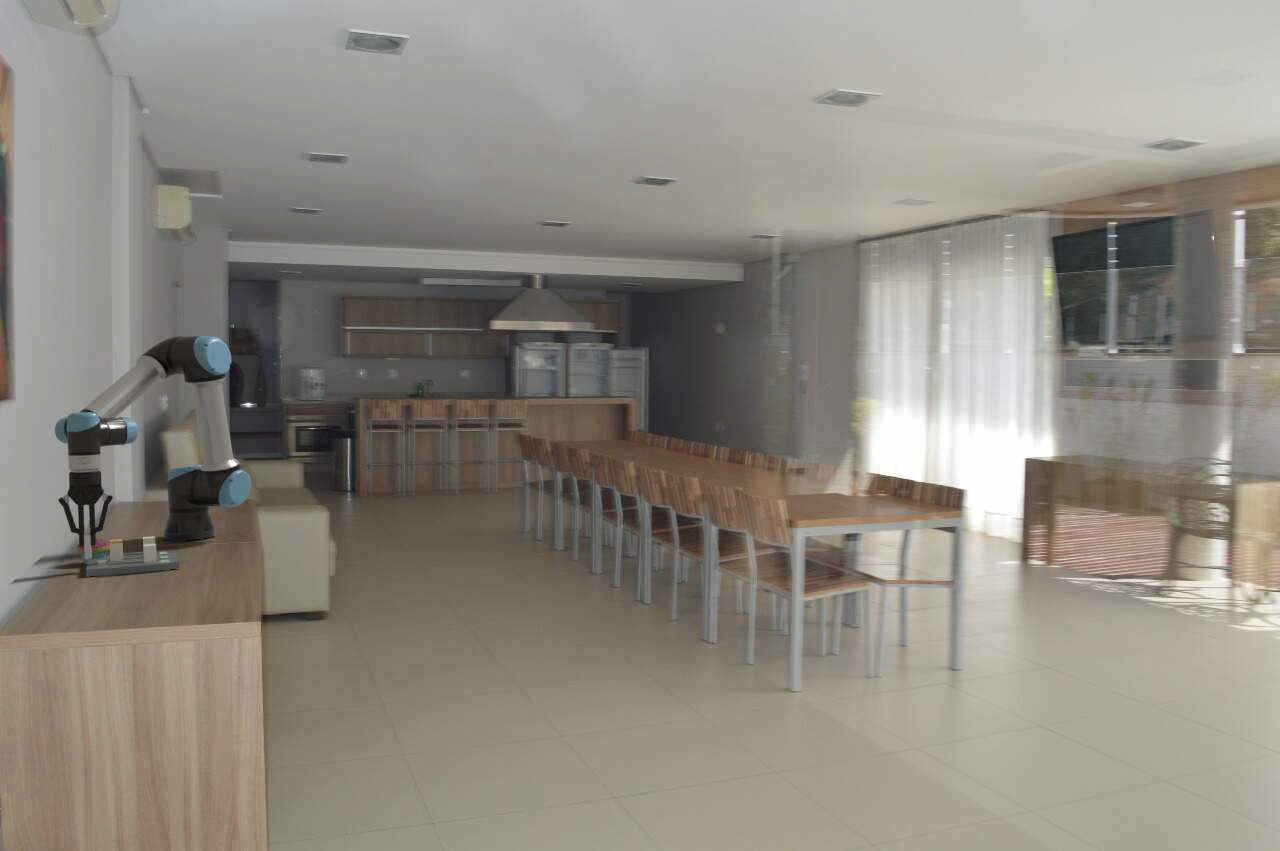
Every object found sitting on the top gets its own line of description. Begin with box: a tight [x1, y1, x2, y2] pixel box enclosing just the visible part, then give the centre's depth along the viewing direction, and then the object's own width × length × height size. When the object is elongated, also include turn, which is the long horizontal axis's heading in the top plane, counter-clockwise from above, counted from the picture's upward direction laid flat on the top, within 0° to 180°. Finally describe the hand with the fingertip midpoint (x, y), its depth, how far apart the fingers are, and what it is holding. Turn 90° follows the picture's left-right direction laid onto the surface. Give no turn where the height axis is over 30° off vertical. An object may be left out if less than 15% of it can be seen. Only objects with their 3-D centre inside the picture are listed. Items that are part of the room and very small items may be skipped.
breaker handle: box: [109, 538, 124, 561], centre depth 266 cm, size 3×3×6 cm
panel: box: [85, 535, 180, 578], centre depth 268 cm, size 18×22×7 cm
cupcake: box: [76, 520, 110, 565], centre depth 274 cm, size 9×8×12 cm
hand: (88, 558), depth 263 cm, fingers closed
